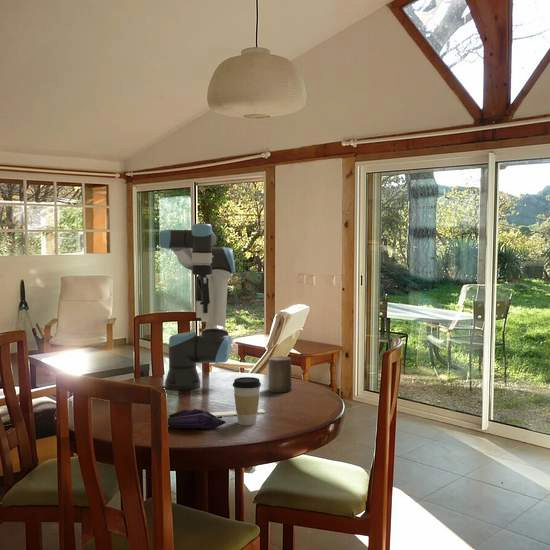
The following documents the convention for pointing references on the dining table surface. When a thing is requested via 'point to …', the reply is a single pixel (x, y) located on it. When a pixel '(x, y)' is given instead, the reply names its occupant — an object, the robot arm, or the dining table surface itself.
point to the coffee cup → (246, 399)
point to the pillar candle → (279, 374)
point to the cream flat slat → (233, 413)
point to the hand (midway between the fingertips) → (202, 319)
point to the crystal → (194, 419)
